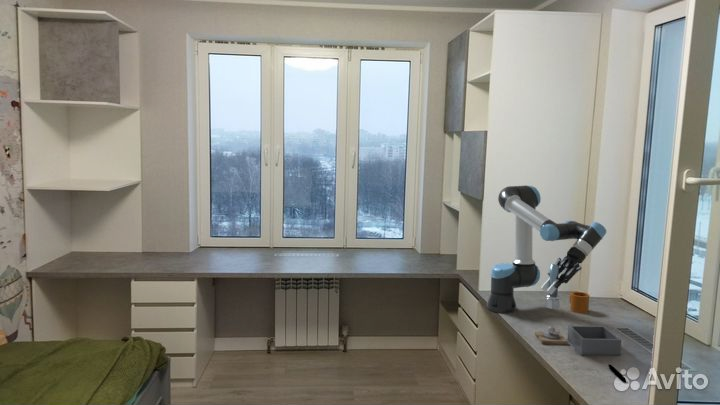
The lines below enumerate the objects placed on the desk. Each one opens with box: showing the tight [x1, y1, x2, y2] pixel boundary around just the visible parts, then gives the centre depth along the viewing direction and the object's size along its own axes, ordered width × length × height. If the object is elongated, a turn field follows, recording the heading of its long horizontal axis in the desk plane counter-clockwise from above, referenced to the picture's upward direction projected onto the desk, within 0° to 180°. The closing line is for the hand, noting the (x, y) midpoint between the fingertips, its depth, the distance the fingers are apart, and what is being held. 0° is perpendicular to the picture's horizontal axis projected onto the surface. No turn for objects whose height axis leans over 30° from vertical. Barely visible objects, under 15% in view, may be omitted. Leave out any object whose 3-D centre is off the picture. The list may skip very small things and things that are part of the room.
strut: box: [544, 263, 561, 310], centre depth 231 cm, size 6×6×19 cm
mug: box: [569, 291, 590, 314], centre depth 274 cm, size 9×12×9 cm
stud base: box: [534, 326, 569, 345], centre depth 233 cm, size 11×11×6 cm
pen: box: [607, 363, 627, 383], centre depth 199 cm, size 2×14×2 cm, turn 179°
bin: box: [566, 325, 622, 357], centre depth 224 cm, size 16×16×7 cm
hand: (546, 290), depth 230 cm, fingers closed on strut, 3 cm apart
